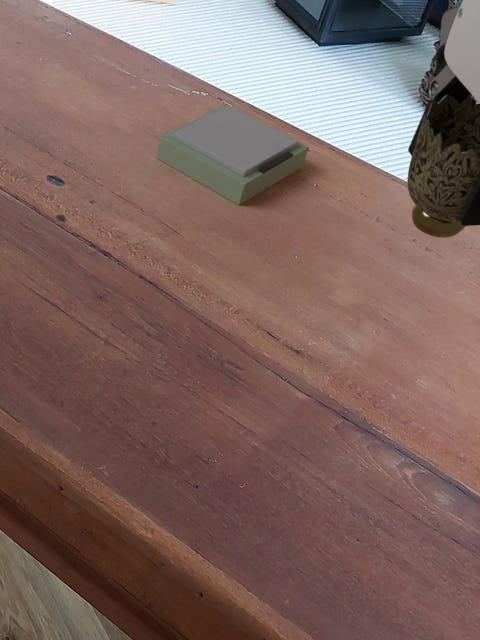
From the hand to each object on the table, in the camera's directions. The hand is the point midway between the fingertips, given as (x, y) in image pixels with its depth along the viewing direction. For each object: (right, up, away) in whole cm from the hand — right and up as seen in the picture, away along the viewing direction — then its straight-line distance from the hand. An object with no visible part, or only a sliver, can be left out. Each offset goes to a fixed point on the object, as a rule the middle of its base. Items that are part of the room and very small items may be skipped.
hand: (454, 185), depth 61 cm
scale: (-7, +13, +33) cm, 36 cm away
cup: (0, -2, +3) cm, 4 cm away
